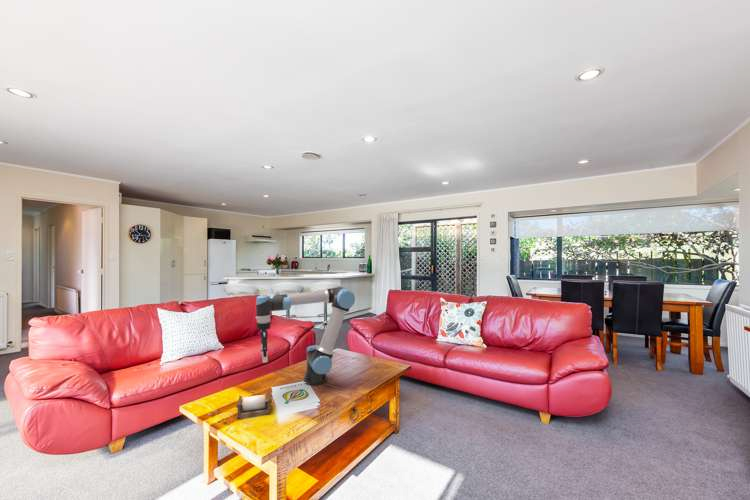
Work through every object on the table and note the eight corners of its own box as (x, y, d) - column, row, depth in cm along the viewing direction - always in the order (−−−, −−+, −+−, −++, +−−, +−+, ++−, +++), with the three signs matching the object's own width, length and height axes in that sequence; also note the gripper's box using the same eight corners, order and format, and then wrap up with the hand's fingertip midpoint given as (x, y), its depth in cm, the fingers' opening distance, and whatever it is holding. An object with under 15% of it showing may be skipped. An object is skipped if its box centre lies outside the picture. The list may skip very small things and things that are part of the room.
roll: (265, 405, 174) (265, 392, 174) (265, 410, 167) (265, 397, 168) (243, 408, 170) (243, 395, 171) (242, 414, 163) (242, 400, 164)
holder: (271, 404, 177) (271, 391, 177) (271, 414, 166) (271, 400, 166) (237, 409, 171) (237, 396, 171) (235, 419, 160) (235, 405, 161)
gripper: (256, 318, 195) (257, 352, 195) (257, 327, 172) (258, 366, 172) (268, 317, 198) (269, 351, 198) (271, 326, 174) (272, 364, 175)
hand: (264, 358), depth 185 cm, fingers open, 13 cm apart
